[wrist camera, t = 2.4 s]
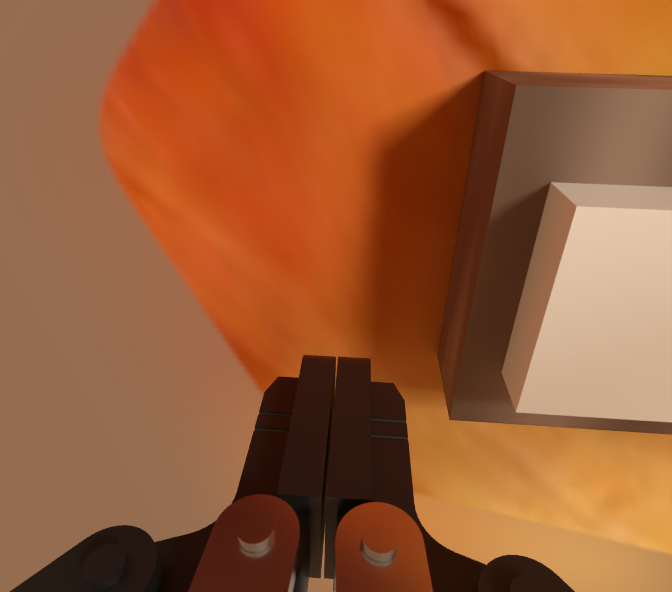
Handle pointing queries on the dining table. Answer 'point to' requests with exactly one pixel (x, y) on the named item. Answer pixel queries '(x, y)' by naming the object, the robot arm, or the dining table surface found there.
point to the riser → (537, 213)
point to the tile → (597, 307)
